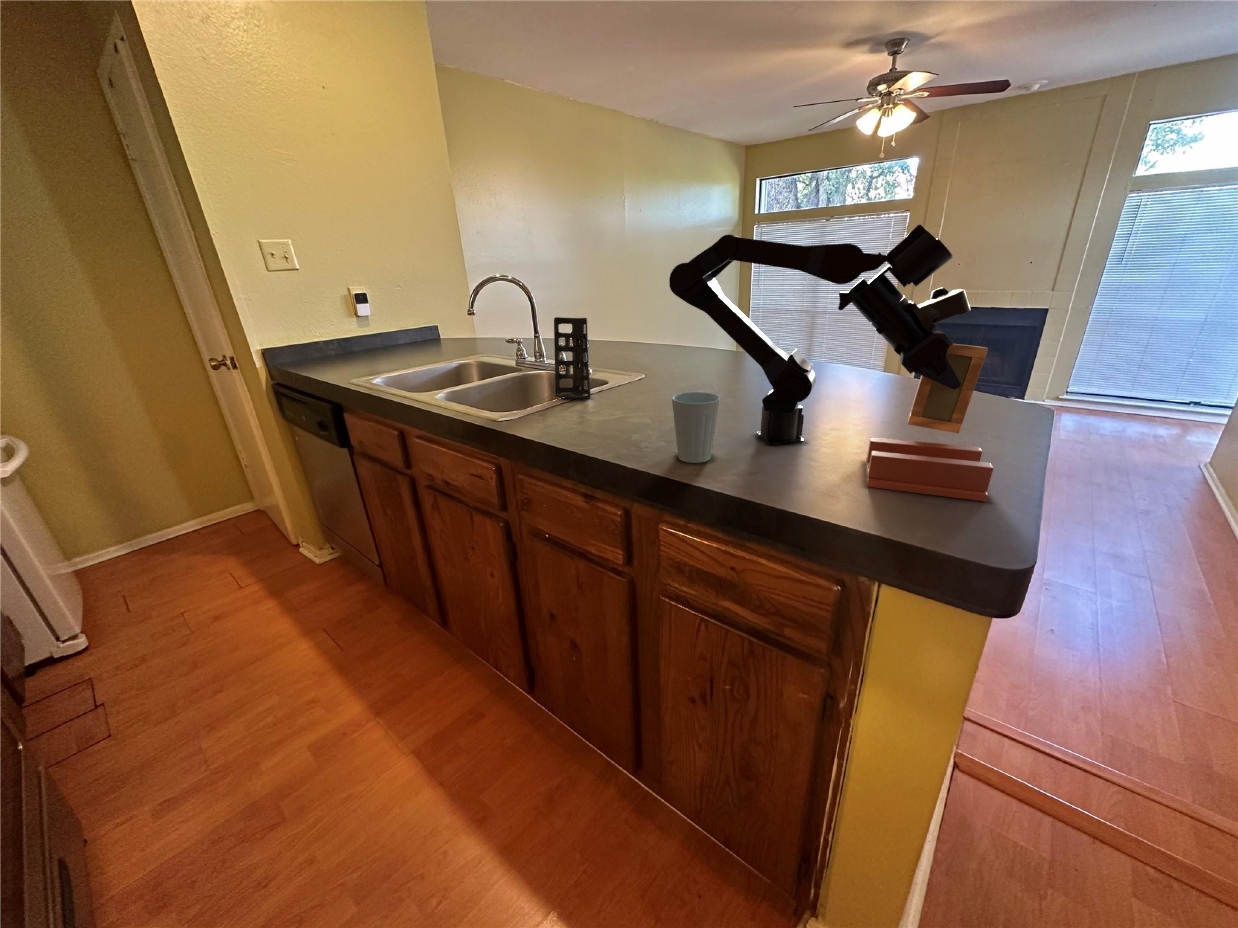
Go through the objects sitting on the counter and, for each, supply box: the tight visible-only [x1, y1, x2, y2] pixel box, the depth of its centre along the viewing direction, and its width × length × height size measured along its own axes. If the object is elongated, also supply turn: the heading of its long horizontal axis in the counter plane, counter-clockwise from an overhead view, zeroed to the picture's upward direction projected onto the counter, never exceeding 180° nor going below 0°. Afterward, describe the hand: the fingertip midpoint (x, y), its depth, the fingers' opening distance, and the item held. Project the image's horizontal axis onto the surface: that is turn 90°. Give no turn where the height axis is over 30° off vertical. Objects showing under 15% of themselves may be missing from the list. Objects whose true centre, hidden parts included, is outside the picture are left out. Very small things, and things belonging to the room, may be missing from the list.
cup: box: [671, 391, 721, 464], centre depth 79 cm, size 8×8×10 cm
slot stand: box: [865, 437, 994, 503], centre depth 68 cm, size 14×10×4 cm
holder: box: [553, 316, 592, 401], centre depth 122 cm, size 11×8×20 cm
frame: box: [906, 343, 989, 435], centre depth 74 cm, size 7×3×13 cm, turn 61°
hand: (955, 384), depth 73 cm, fingers closed on frame, 3 cm apart
